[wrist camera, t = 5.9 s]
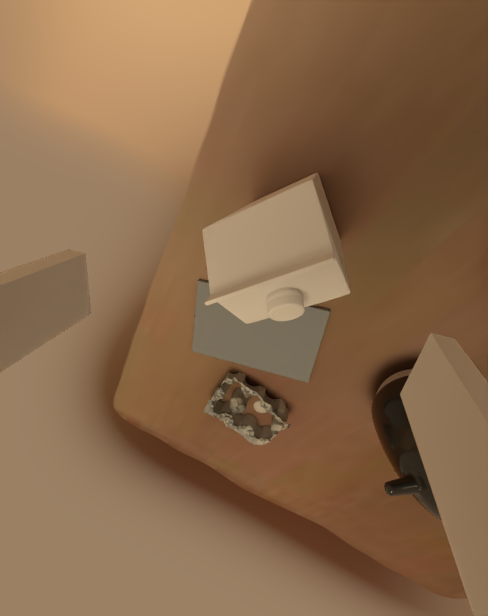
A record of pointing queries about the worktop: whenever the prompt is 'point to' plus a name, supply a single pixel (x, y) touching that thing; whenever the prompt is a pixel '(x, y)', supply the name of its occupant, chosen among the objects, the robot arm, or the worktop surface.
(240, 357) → the mat
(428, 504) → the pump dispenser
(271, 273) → the milk carton
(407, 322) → the worktop surface
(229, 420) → the egg carton
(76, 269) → the robot arm
